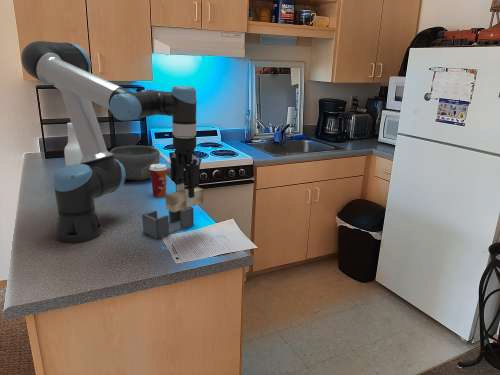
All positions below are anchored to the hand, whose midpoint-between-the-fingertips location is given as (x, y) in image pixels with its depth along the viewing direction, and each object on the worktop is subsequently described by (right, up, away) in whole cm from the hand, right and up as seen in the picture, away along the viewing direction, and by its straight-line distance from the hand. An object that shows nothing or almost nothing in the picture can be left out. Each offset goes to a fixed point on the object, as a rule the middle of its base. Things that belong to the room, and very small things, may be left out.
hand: (184, 204), depth 130 cm
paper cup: (-19, +2, +44) cm, 48 cm away
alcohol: (-59, +6, +52) cm, 79 cm away
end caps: (-7, -9, +10) cm, 15 cm away
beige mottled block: (0, -1, 0) cm, 1 cm away
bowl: (-37, +10, +68) cm, 78 cm away
